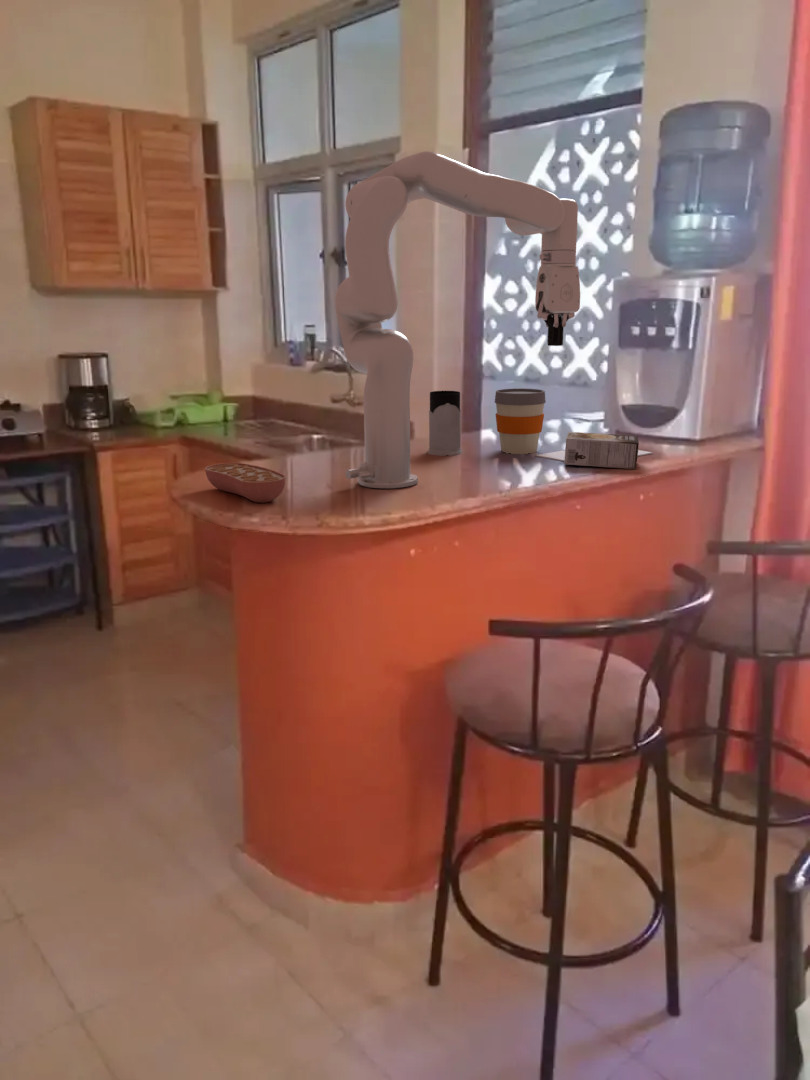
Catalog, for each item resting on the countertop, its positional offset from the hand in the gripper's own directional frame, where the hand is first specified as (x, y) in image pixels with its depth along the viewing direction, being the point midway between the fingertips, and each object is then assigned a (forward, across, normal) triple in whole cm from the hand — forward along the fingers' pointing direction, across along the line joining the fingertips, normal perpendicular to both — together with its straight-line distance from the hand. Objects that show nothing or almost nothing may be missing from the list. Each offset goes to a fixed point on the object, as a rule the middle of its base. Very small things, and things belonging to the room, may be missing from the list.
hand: (555, 345), depth 196 cm
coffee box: (+23, +2, -2) cm, 23 cm away
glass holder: (+27, -8, +30) cm, 41 cm away
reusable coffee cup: (+27, +6, +17) cm, 33 cm away
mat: (+27, +16, +1) cm, 31 cm away
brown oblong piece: (+28, -70, +16) cm, 77 cm away
